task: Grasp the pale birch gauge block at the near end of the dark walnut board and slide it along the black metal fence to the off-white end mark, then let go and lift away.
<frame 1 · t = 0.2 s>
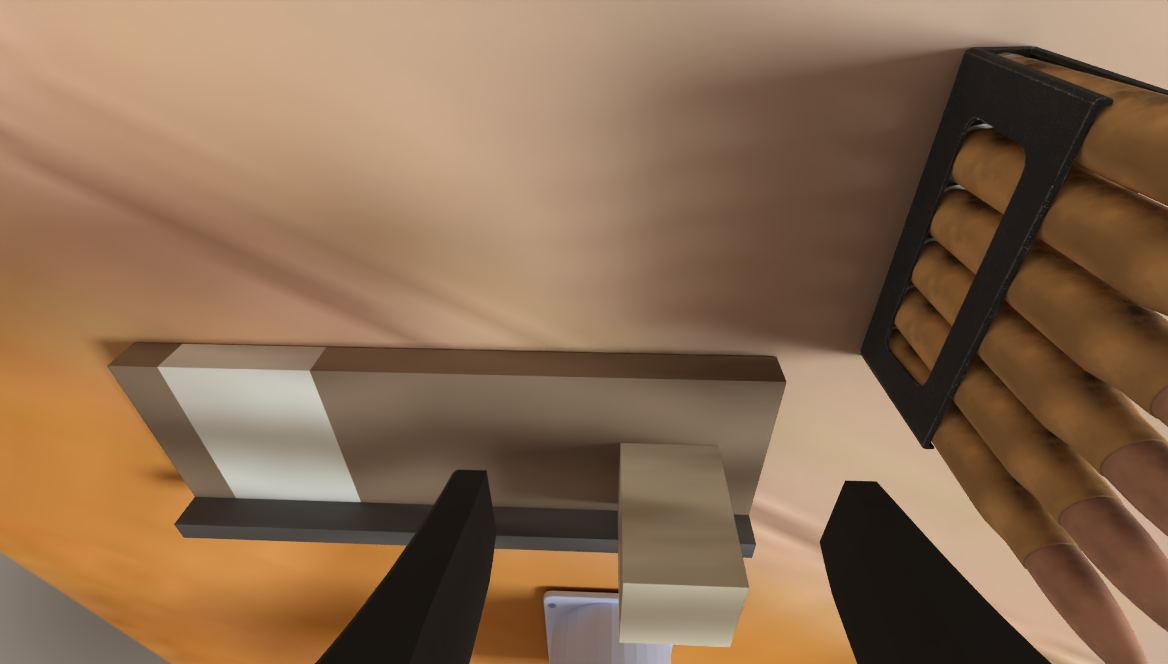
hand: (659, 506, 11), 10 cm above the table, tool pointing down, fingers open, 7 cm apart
ammunition clip: (929, 225, 18), on the table
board: (463, 429, 24), on the table
gauge block: (665, 476, 23), point 1 cm above the table, touching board
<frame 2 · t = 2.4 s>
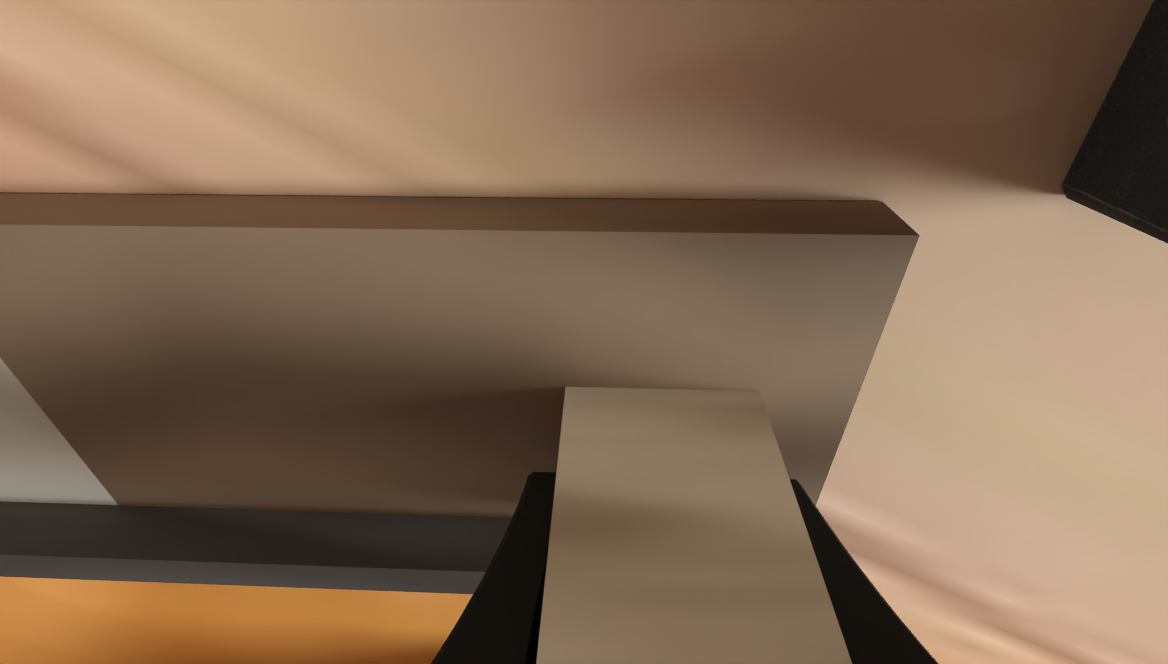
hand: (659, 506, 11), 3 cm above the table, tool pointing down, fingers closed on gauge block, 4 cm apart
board: (287, 370, 13), on the table
gauge block: (655, 455, 12), point 1 cm above the table, touching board, gripper
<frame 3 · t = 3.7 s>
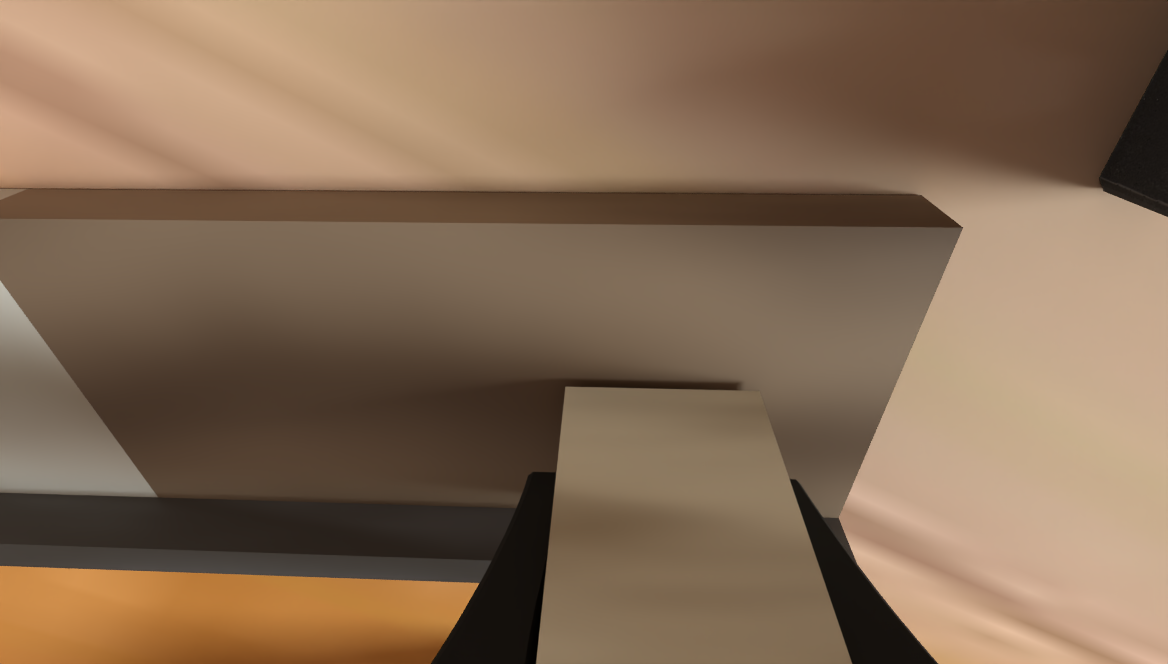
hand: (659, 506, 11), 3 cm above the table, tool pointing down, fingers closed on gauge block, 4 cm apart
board: (327, 364, 13), on the table
gauge block: (655, 455, 12), point 2 cm above the table, touching gripper
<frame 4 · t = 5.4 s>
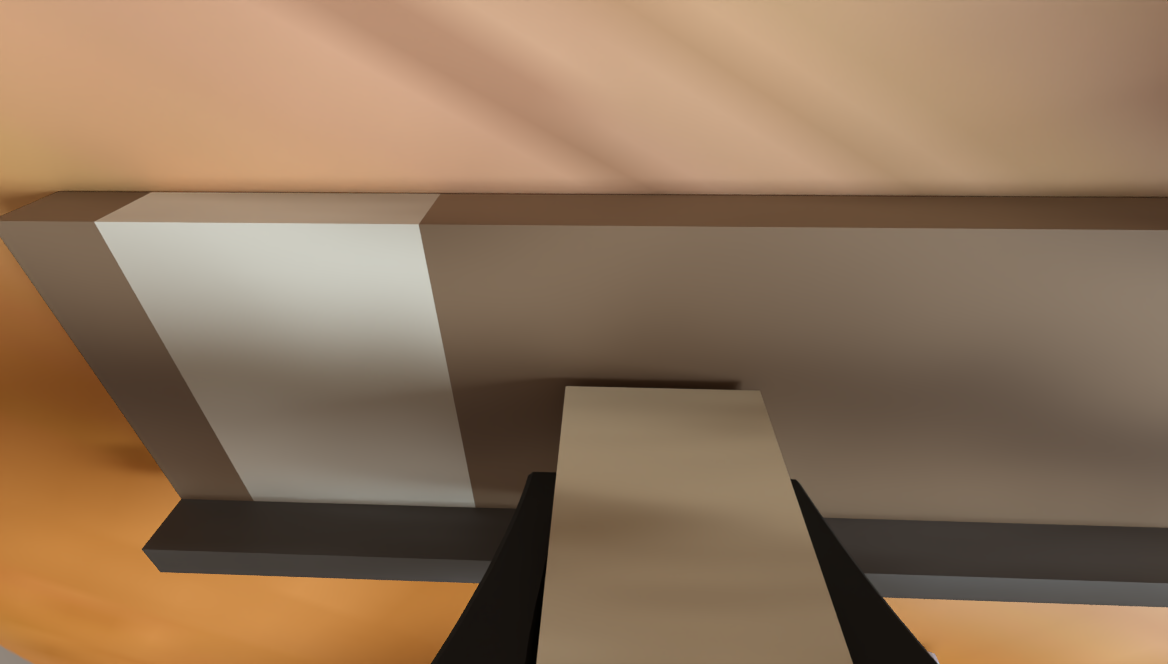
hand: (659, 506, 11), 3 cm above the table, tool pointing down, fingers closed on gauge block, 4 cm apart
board: (672, 372, 13), on the table
gauge block: (655, 454, 12), point 2 cm above the table, touching gripper
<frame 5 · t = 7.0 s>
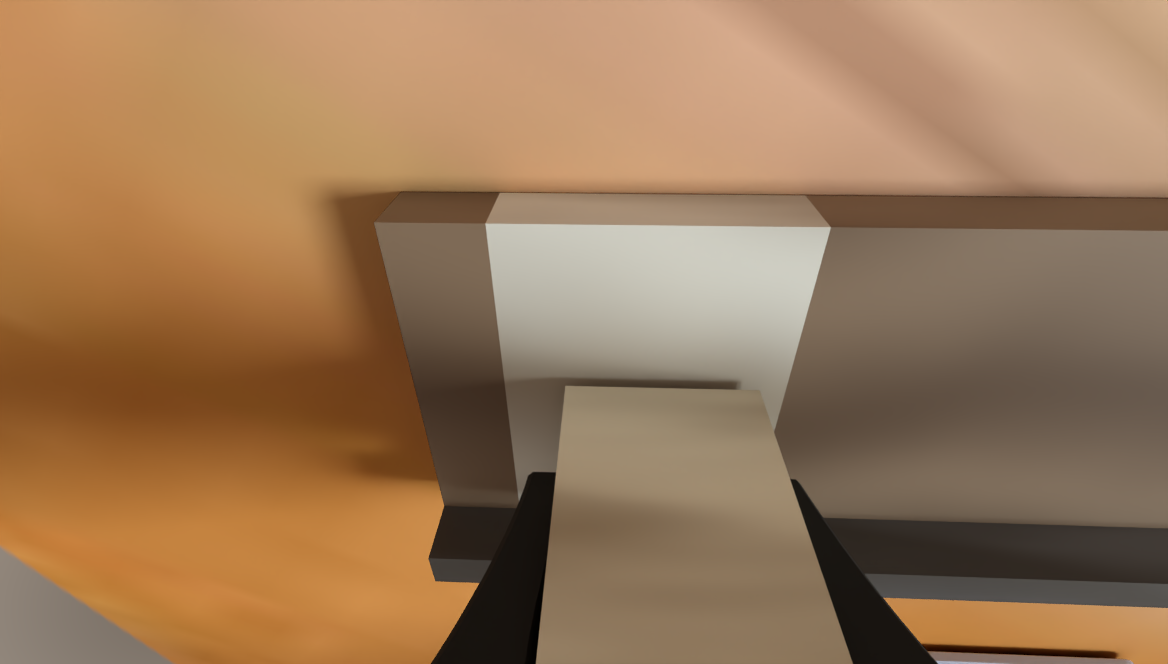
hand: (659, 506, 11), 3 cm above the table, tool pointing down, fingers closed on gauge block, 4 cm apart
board: (973, 378, 13), on the table
gauge block: (655, 454, 12), point 2 cm above the table, touching gripper
when the fingers open (3 cm above the table, at t = 8.4 s): gauge block stays where it is, resting on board.
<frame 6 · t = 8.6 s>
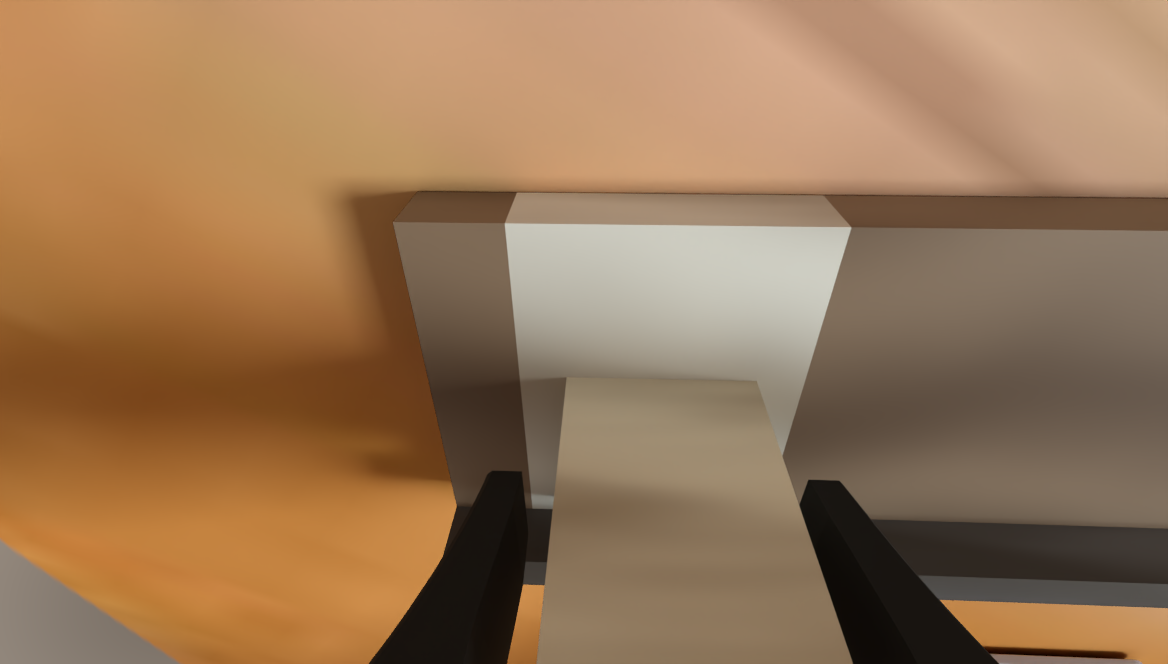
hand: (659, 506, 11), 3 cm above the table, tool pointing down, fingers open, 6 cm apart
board: (988, 378, 13), on the table
gauge block: (654, 445, 12), point 1 cm above the table, touching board
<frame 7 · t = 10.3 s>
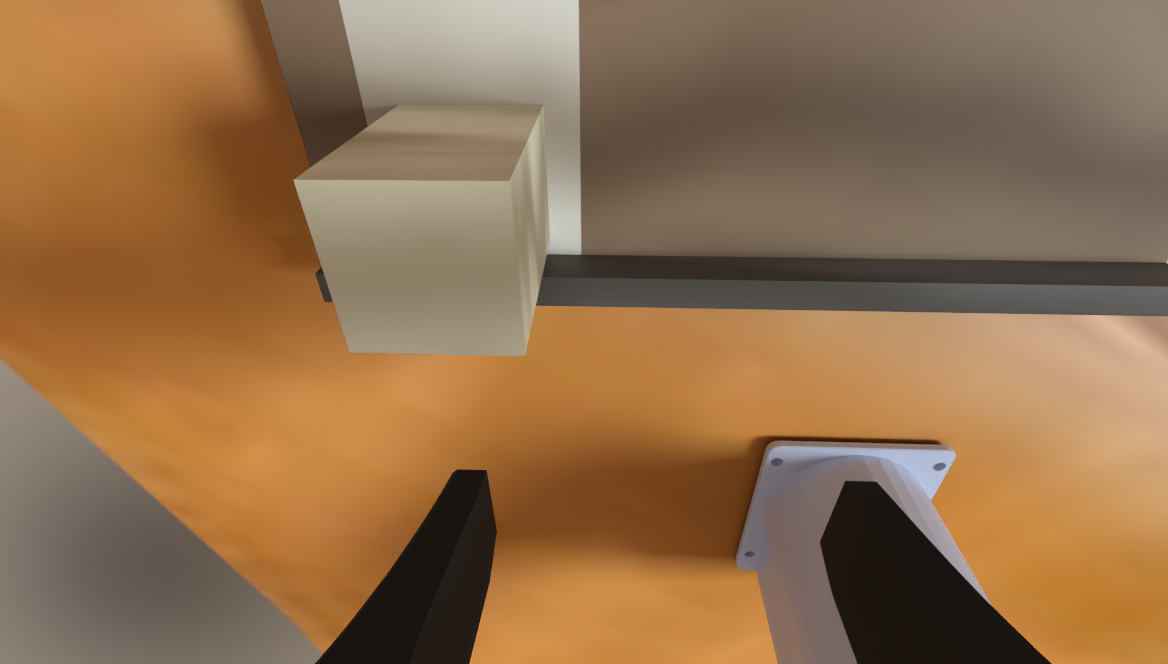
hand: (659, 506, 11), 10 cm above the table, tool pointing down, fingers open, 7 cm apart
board: (747, 129, 16), on the table
gauge block: (479, 176, 16), point 1 cm above the table, touching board
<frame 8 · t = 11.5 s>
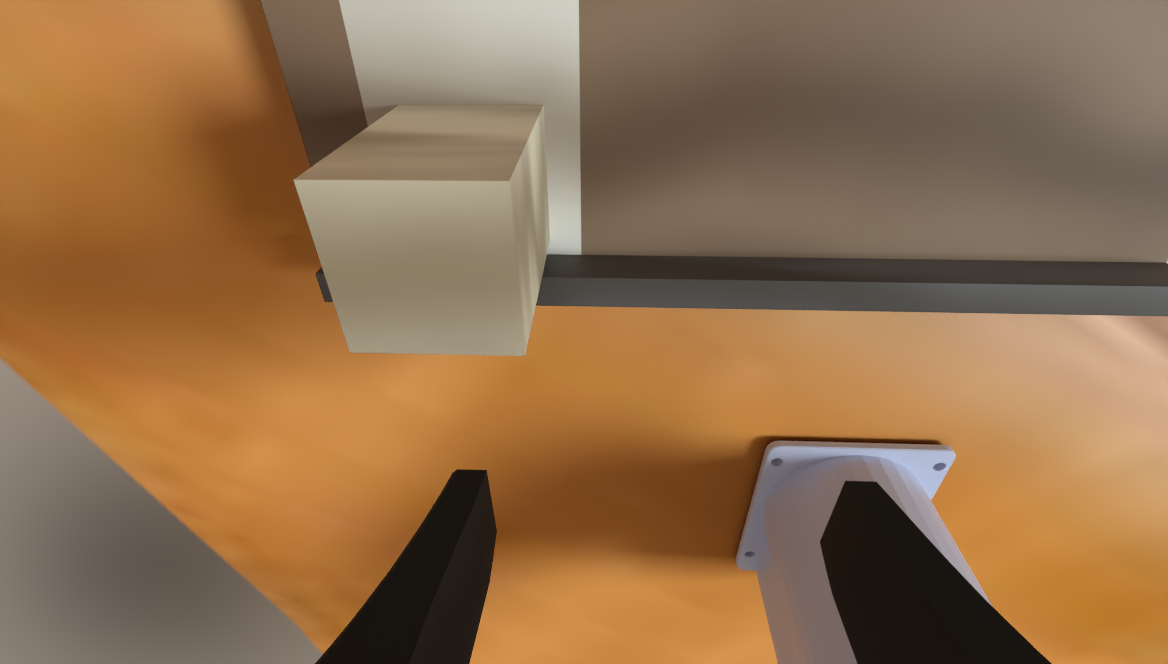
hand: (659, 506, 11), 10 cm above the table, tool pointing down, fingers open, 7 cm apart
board: (747, 129, 16), on the table
gauge block: (479, 176, 16), point 1 cm above the table, touching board
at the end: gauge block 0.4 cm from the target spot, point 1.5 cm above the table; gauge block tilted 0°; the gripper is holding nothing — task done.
